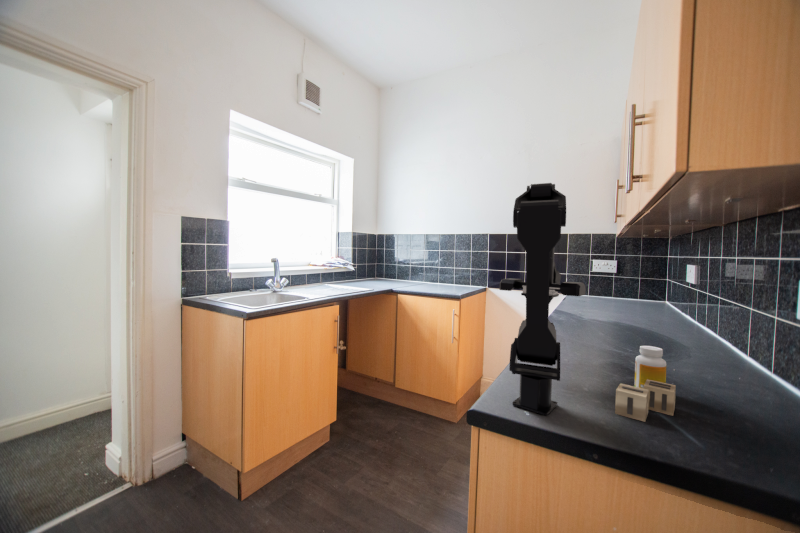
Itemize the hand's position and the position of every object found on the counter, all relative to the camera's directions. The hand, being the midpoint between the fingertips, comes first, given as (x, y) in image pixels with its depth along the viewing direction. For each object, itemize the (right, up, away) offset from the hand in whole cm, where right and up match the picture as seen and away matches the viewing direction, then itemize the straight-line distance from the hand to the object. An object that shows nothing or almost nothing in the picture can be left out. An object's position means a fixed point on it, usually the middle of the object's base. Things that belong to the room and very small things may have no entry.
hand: (539, 321), depth 81 cm
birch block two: (+16, -14, -17) cm, 27 cm away
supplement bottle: (+20, -14, -10) cm, 26 cm away
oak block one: (+9, -14, -20) cm, 26 cm away
